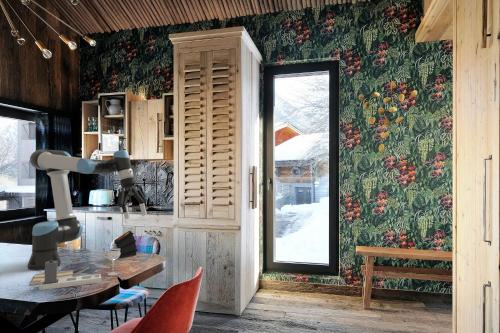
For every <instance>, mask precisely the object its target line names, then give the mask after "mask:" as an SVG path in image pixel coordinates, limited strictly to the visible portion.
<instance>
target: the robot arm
mask: <svg viewBox="0 0 500 333" xmlns="http://www.w3.org/2000/svg"><path fill="white" fill-rule="evenodd" d="M112 154H113V157H112V158H109V159H95V158H86V157H76V156H71V154H70V153H68V151H64V150H60V149H59V150H57V149H54V150H53V149H45V148H44V149H37V150H36V151H35V150H34V151H33V152H31V155H30V157H29V163H30V164H31V166H32V167H33V168H34V169H37V170H40V171H41V170H42V171H46V174H47V175H48V176H49V177H50V182H51V189H52V196H53V202H54V210H55V215H56V216H55V219H54V220H49V221H42V222H38V223H36V224H34V225H33V227H32V233H31V235H32V236H31V237H32V240H31V243H32V245H31V255H30V257H29V259H28V262H27V270H30V271H31V270H33V271H40V270H45V263H46V262H47V261H50V260H53V261H57V267H60V265H61V263H62V262H61V260H62V259H61V258H60V257H61V256H60V255H59V251H58V245H60V244H63V243H69V242H73V241H76V240H78V239H79V238H80V237H81V236H82V234H83V230H84V228H83V223H82V222H81V221H80V220H78V219H77V216H76V215H75V214H74V212H73V205H72V198H71V192H70V186H69V185H70V184H69V177H68V174H69V173H70V172H76V173H80V174H84V175H85V174H86V175H90V174H91V175H92V174H93V175H94V174H95V175H96V174H98V175H99V176H102V177H104V176H109V175H110V174H113V173H116V172H117V175H118V179H119V184H120V187H119V188H118V196H117V197H118V198H117V207H119V208H121V211H122V213H123V217H124V220H128V219H130V218H131V216H130V212H129V208H128V205H127V203H128V199H129V197H130V196H132V197H134V198H135V199H136V201H137V202H139V209H140V213H141V216H142V217H143V216H147V215H148V214H147V209H146V208H147V207H146V204H145V203H147V198H146V197H145V195H144V193H143V192H142V190H141V187H140V185H139V186H136V179H135V177H134V172H133V168H132V163H131V159H130V156H129V152H128V151H127V150H125V149H122V150H121V149H120V150H117V151H114V152H113V153H112Z"/></svg>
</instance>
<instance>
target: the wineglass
mask: <svg viewBox="0 0 500 333" xmlns="http://www.w3.org/2000/svg"><path fill="white" fill-rule="evenodd" d="M105 250H106V253H105V256H106V258H107V259H108V260H110V261H111V262H112V264H111V265H112V266H111V267H112V271H111V272H109V273H107V275H108V276H116V275H119V272H116V271H114V270H115V269H114V266H115V261H116V260H117V259H120V258H119V257H120V254H121V253H120V249H119V248H117V247H115V248H114V247H113V248H107V249H105Z"/></svg>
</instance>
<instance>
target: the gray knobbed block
mask: <svg viewBox="0 0 500 333" xmlns="http://www.w3.org/2000/svg"><path fill="white" fill-rule="evenodd" d="M57 272H58V266H57V261H53V260H50V261H47V262H46V263H45V269H44V273H45V282H44V284H51V283H57Z"/></svg>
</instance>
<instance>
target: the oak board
mask: <svg viewBox="0 0 500 333" xmlns="http://www.w3.org/2000/svg"><path fill="white" fill-rule="evenodd" d="M73 272H74V270H73V269H70V270H62V271H60V270H59V271H57V279H60V278H68V277H73ZM43 280H45V272H40V273H35V274H34V276H33V278H32V280H31V282H30V287H31V286H39V285H40V282H41V281H43Z"/></svg>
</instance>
